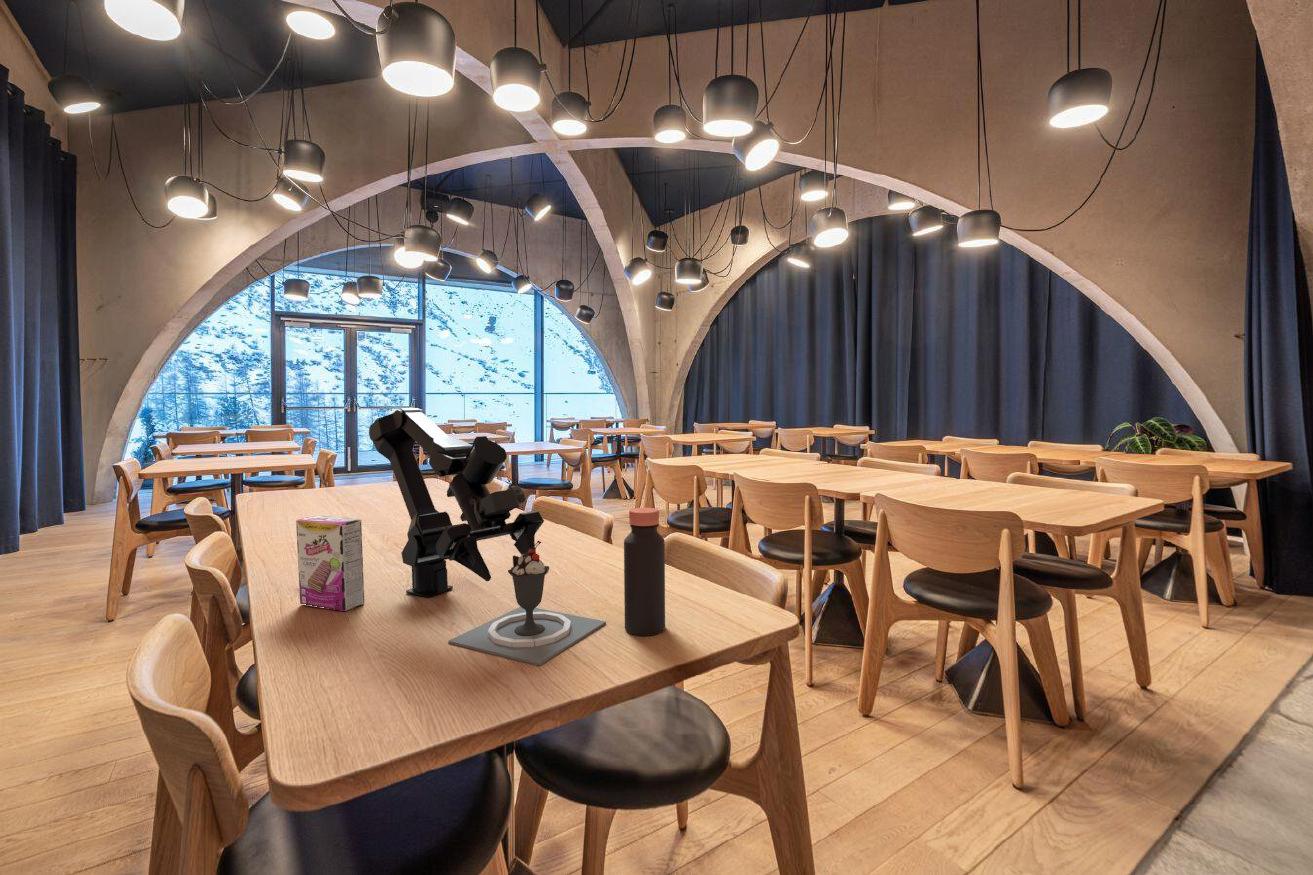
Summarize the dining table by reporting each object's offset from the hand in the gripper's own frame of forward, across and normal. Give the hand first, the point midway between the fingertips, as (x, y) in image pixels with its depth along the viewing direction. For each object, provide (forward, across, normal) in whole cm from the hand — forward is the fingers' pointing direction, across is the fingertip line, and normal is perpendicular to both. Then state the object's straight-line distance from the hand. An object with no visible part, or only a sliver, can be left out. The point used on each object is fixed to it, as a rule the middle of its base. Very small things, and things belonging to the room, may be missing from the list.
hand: (513, 573), depth 101 cm
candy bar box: (-18, -16, +31) cm, 39 cm away
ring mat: (+10, 0, +3) cm, 10 cm away
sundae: (+9, 0, +3) cm, 10 cm away
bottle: (+19, +14, -6) cm, 24 cm away
